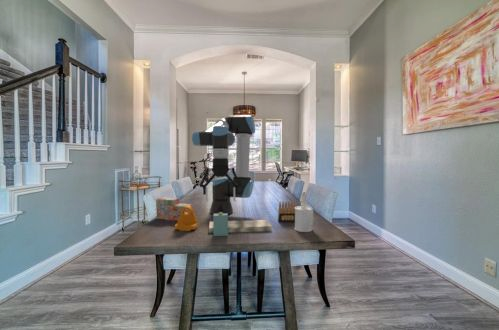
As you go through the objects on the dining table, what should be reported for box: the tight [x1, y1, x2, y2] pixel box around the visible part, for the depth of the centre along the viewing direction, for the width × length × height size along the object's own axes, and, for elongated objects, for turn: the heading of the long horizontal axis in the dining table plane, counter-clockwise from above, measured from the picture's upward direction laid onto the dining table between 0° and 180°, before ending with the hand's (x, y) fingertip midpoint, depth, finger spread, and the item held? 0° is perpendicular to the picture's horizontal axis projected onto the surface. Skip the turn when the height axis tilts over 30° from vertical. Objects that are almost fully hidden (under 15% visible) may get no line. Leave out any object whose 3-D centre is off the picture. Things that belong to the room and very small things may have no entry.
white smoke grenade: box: [293, 191, 314, 233], centre depth 134 cm, size 10×9×20 cm
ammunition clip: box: [277, 201, 297, 223], centre depth 149 cm, size 11×2×12 cm, turn 95°
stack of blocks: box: [155, 196, 193, 222], centre depth 155 cm, size 21×6×12 cm, turn 70°
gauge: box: [212, 213, 229, 237], centre depth 132 cm, size 7×14×11 cm, turn 6°
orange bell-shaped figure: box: [174, 205, 199, 232], centre depth 136 cm, size 11×7×12 cm, turn 90°
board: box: [208, 219, 272, 234], centre depth 137 cm, size 32×12×2 cm, turn 96°
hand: (220, 200), depth 127 cm, fingers open, 13 cm apart
